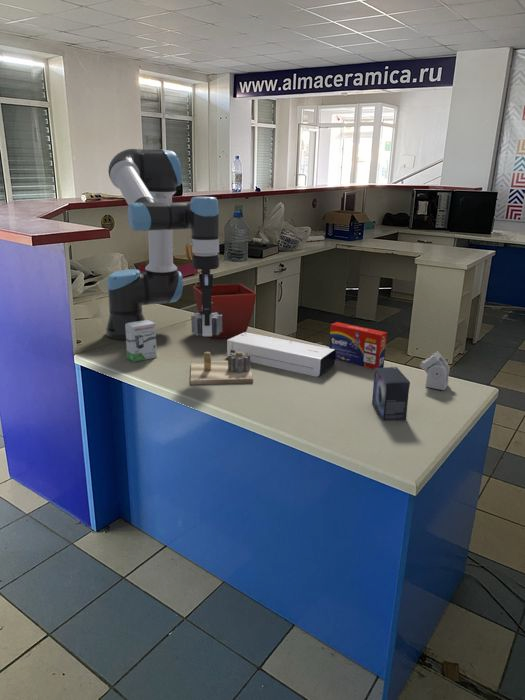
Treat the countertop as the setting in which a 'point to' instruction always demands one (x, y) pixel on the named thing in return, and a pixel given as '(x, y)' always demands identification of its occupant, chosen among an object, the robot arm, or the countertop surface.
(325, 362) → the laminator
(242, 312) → the plant pot
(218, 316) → the planet gear
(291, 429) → the countertop surface
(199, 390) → the countertop surface
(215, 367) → the gear puzzle board
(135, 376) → the countertop surface
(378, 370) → the small box
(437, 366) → the mechanical component
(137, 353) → the ink box
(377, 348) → the toy box
